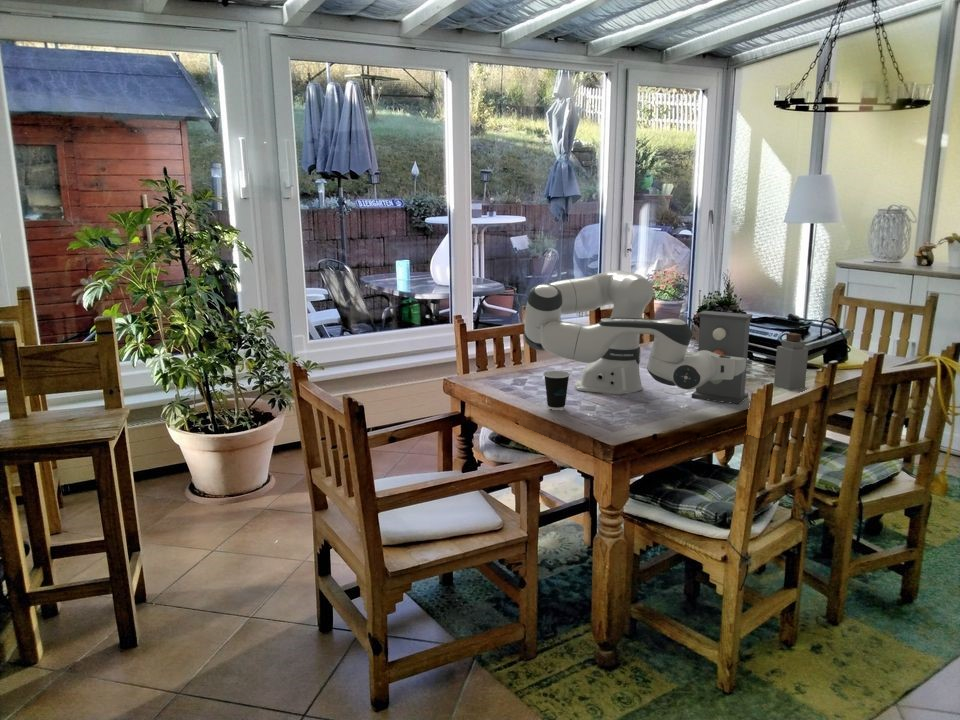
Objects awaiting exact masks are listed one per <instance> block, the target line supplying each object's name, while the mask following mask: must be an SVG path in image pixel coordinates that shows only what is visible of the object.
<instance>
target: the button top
mask: <svg viewBox="0 0 960 720" xmlns="http://www.w3.org/2000/svg"><path fill="white" fill-rule="evenodd" d="M725 336H726V331H725V329H723V328H717V329H715V330H714V331H713V337H714V339H716V340H722V339H723V338H725Z"/></svg>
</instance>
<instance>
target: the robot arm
mask: <svg viewBox="0 0 960 720" xmlns="http://www.w3.org/2000/svg"><path fill="white" fill-rule="evenodd" d="M653 297H654V287H653V285H652V283H651V281H649V280H648V279H647V278H646V277H644V276H643V275H641V274H637V273H634V272H628V271H624V270H619V269H616V270H615V269H613V270H608V271H605V272H600V273H597V274H594V275H590V276H584V277H583V276H582V277H576V278H567V279H562V280H561V279H560V280H557V281H553V282H549V283H539V284H536V285H534V286H533V287H532V288H531V289H530V290H529V293H528V295H527V302H526V305H525V306H526V307H525V311H524V330H523V337H524V341H525V344H527V346H529V347H530V348H531V349H533V350H536V351H546V352H548V353H550V354H552V355H555V356H557V357H561V358H564V359H567V360H570V361H575V362H579V363H584V364H585V363H586V364H587V365H585V366H584V368H583V370H582V373H581V378H579V379H577V380H576V381H575V382H574V388H575V390H577V391H583V392H592V393H599V394H600V393H601V394H608V395H609V394H610V395H611V394H612V395H625V394H628V393H636V392H640V391H641V390H643V384H642V380H641V374H640V362H641V346H640V336H641V335H652V336H653V335H654V336H653V337H654V338H653V343H652V348H651V350H650V354H649V357H648V361H647V367H646V370H647V372H648V374H650V376H651V378H653V380H655V381H656V382H658V383H660V384H663V385H667V386H671V387H672V386H673V387H675V386H676V387H677V388H679V389H682V390H688V391H689V390H696V388H698V387H701V386H702V385H704V384H705V383H706V382H707V381H713V380H732V379H733V378H734V376H737V375H739V374H741V373H742V372H743V371H745V368H746V359H745V358H741V357H732V356H723V355H720V354H716V353H712V352H710V351H707V350H701V351H698V350H697V352H694V351H688V346H689V345H690V342H691V340H692V337H693V332H692V331H693V330H692V329H691V327H690V325H689V324H688V322H687V321H685V320H683V319H679V318H643V315H644V312H645V310H646V307H647V306H648V304H649V303H651V301H652V299H653ZM608 305H613V306H612V307H613V308H612V311H611V314H610V316H609V317H604V318H602V319H601V320H600V321H599V322H597V323H594V324H582V323H578V322H573V321H563V320H562V318H561V316H563V315H570V314H571V315H572V314H579V313H585V312H592V311H596V310H597V309H598V308H601V307H605V306H608ZM746 369H747V368H746Z"/></svg>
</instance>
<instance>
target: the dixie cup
mask: <svg viewBox="0 0 960 720" xmlns="http://www.w3.org/2000/svg"><path fill="white" fill-rule="evenodd" d="M543 376H544V383H545V385H544V386H545V393H546V403H547V406H548V409H549V408H550V409H553V410H560V411H562V410H561V409H563V410H564V409H565V406H566V401H567V393H568V386H569V379H570V378H569V376H571V374H570V372H567V371H564V370H547V371H545V372H544V373H543ZM550 409H549V410H550ZM553 410H552V411H553Z"/></svg>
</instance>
